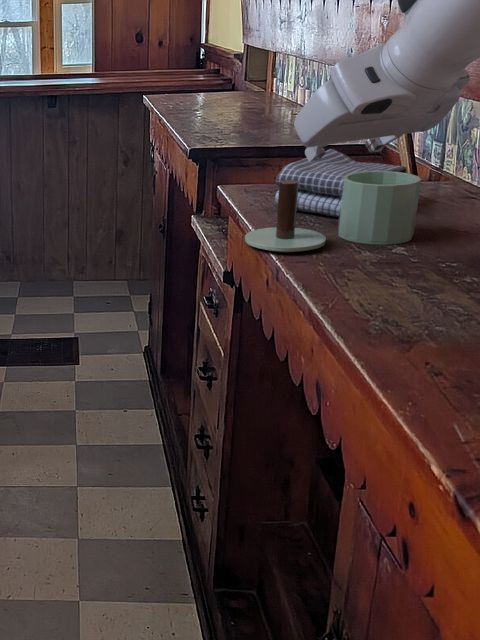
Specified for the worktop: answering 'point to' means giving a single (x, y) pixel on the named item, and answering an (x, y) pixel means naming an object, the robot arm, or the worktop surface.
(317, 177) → the towel
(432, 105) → the robot arm
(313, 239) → the lid
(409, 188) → the canister
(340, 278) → the worktop surface
